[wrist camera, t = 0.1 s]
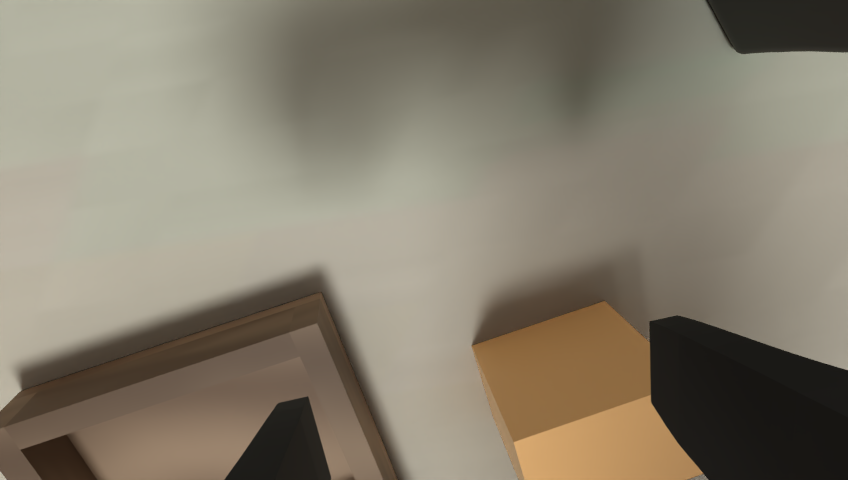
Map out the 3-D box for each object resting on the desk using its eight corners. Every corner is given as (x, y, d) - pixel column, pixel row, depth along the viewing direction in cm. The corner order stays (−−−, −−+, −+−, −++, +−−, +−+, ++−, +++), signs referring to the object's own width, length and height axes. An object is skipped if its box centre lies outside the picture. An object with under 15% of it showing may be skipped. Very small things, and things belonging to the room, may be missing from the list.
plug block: (618, 375, 23) (703, 473, 18) (493, 418, 23) (539, 530, 18) (604, 300, 22) (691, 380, 16) (471, 345, 22) (513, 442, 16)
